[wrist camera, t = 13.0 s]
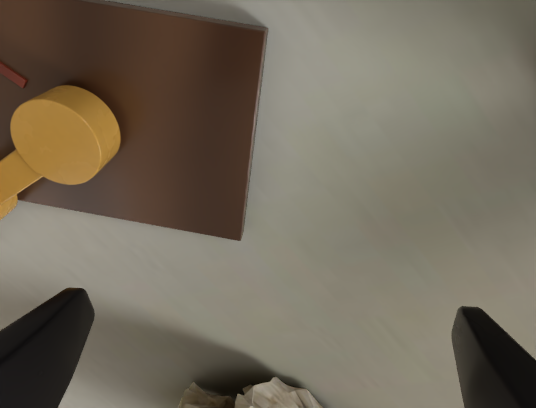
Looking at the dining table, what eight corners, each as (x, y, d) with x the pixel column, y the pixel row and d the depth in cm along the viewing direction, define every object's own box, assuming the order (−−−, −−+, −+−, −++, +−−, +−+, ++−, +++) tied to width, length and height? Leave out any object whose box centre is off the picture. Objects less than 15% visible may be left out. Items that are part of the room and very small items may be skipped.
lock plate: (268, 27, 18) (265, 31, 17) (243, 231, 25) (240, 243, 24) (-104, -35, 19) (-127, -34, 18) (-32, 181, 25) (-46, 190, 24)
